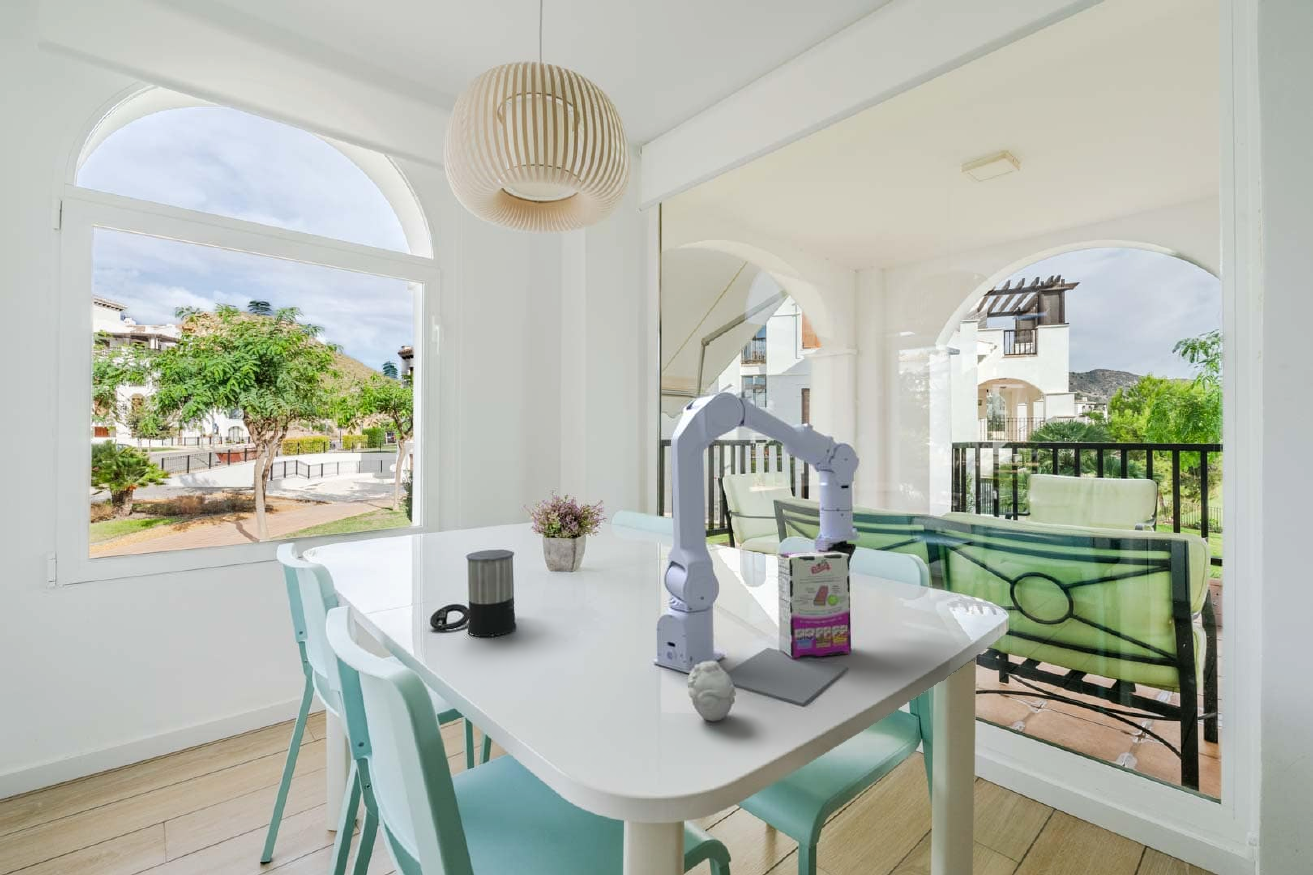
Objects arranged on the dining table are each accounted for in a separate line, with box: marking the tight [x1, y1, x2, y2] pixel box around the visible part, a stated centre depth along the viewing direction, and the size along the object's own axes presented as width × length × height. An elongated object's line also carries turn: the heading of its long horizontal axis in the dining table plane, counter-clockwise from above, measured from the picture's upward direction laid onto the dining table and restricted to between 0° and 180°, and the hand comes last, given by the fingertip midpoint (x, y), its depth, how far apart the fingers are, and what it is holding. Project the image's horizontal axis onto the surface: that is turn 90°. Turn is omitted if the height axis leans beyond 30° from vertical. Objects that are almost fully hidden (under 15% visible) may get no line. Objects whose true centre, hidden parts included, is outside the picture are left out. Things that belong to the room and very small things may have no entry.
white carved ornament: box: [687, 661, 737, 722], centre depth 77 cm, size 6×7×7 cm
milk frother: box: [429, 549, 517, 637], centre depth 116 cm, size 14×16×15 cm
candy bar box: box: [777, 551, 852, 659], centre depth 99 cm, size 11×5×16 cm, turn 105°
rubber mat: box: [725, 647, 849, 707], centre depth 90 cm, size 16×14×1 cm
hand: (837, 584), depth 107 cm, fingers closed
